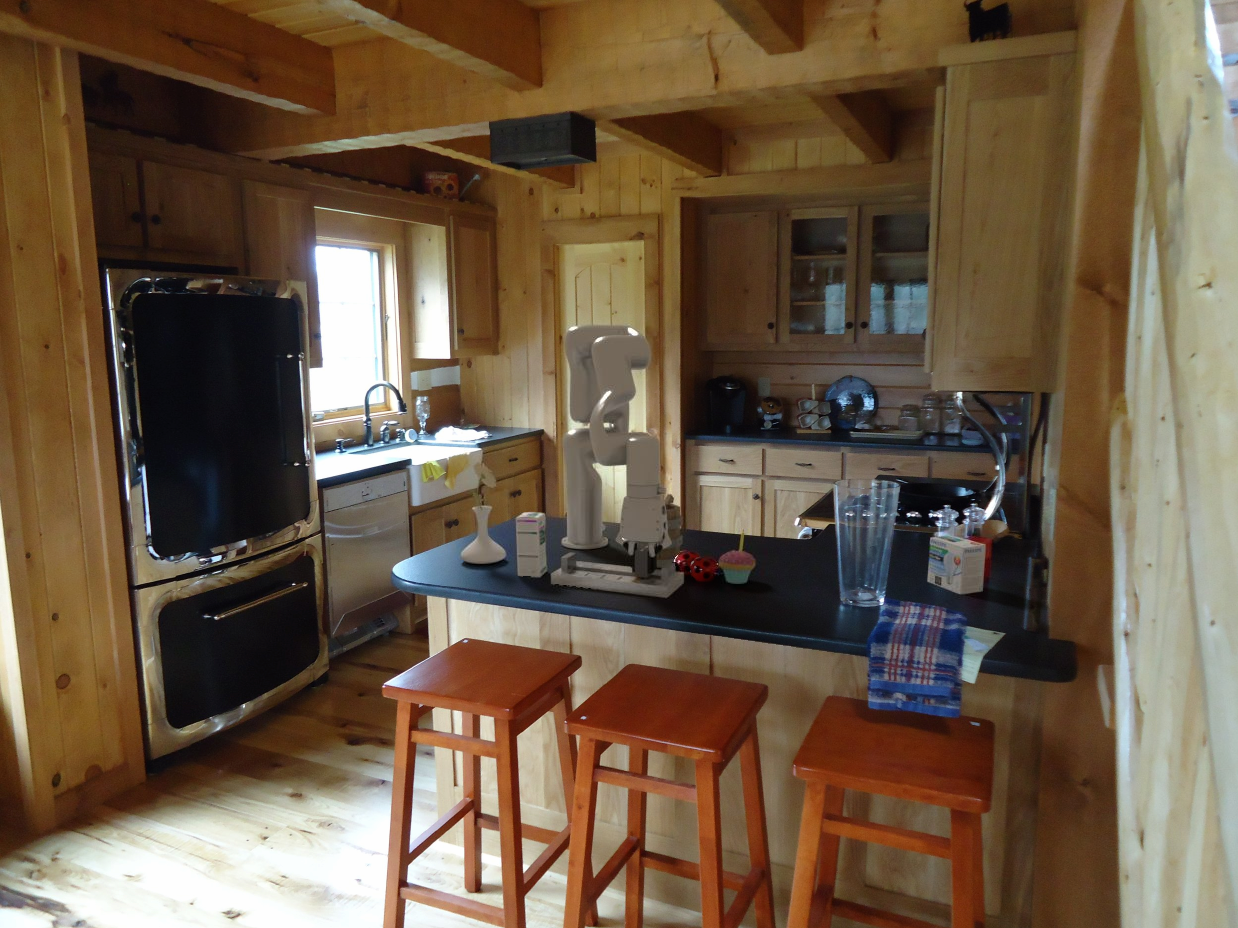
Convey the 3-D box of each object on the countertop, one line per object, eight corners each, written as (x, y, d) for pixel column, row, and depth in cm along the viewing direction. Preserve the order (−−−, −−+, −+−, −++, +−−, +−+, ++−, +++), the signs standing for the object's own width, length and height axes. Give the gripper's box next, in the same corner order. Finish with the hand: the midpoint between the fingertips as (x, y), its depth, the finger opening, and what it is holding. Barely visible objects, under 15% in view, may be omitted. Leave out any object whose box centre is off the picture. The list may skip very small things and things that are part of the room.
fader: (641, 571, 201) (641, 545, 200) (653, 572, 200) (654, 546, 199) (634, 576, 197) (634, 549, 196) (647, 577, 196) (647, 551, 195)
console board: (573, 570, 212) (572, 548, 211) (683, 582, 201) (683, 559, 201) (551, 584, 201) (550, 560, 200) (667, 597, 190) (667, 573, 190)
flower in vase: (510, 565, 217) (508, 465, 213) (464, 569, 213) (461, 468, 209) (500, 552, 229) (497, 458, 225) (456, 556, 225) (453, 460, 221)
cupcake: (733, 573, 209) (734, 524, 207) (762, 581, 203) (764, 530, 201) (710, 581, 203) (711, 530, 201) (740, 588, 197) (741, 536, 195)
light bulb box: (926, 582, 202) (928, 536, 200) (948, 578, 205) (951, 533, 203) (961, 595, 192) (964, 547, 191) (984, 591, 195) (987, 544, 193)
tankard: (675, 569, 213) (675, 509, 210) (626, 564, 217) (626, 505, 215) (696, 550, 231) (697, 494, 229) (651, 546, 236) (651, 491, 233)
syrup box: (540, 577, 206) (539, 517, 203) (516, 576, 207) (515, 516, 205) (547, 571, 211) (546, 512, 209) (523, 569, 212) (522, 511, 210)
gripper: (683, 491, 195) (683, 571, 198) (615, 487, 201) (616, 564, 204) (672, 496, 188) (672, 579, 191) (602, 492, 194) (603, 572, 197)
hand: (643, 571), depth 197 cm, fingers closed on fader, 3 cm apart
